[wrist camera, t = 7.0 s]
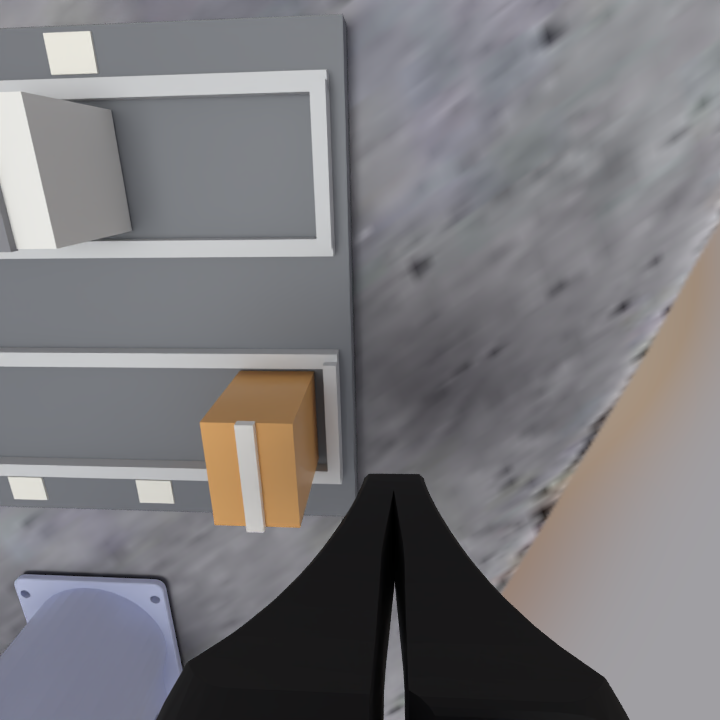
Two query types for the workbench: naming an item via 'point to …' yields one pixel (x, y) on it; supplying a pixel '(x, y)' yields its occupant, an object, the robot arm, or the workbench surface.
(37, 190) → the fader white
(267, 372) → the fader orange
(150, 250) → the plate
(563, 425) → the workbench surface
